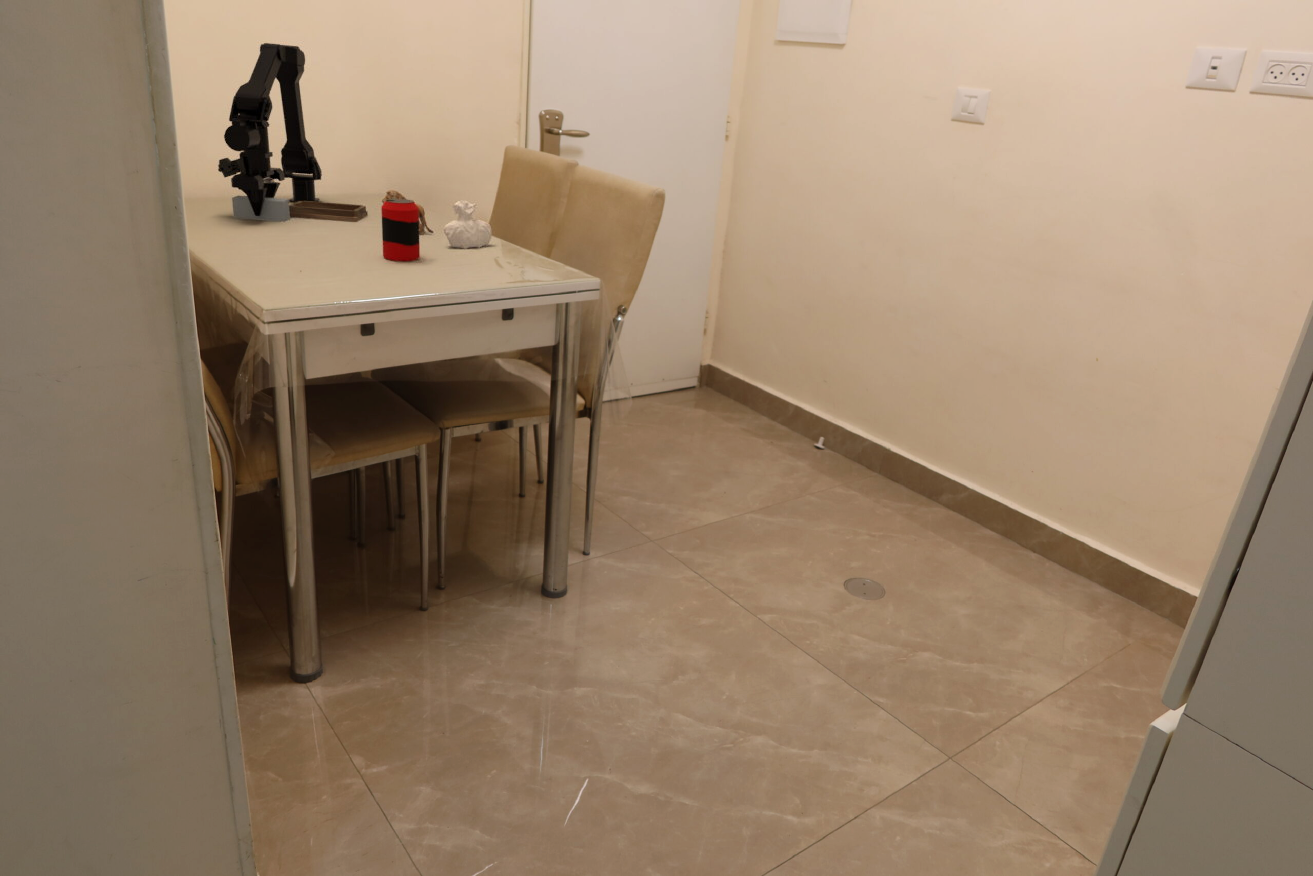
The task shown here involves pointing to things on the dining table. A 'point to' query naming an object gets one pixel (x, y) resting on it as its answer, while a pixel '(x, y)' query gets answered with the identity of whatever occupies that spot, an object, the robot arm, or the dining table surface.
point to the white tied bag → (467, 228)
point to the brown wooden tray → (327, 211)
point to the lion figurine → (422, 225)
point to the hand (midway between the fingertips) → (261, 214)
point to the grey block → (270, 211)
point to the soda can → (400, 230)
